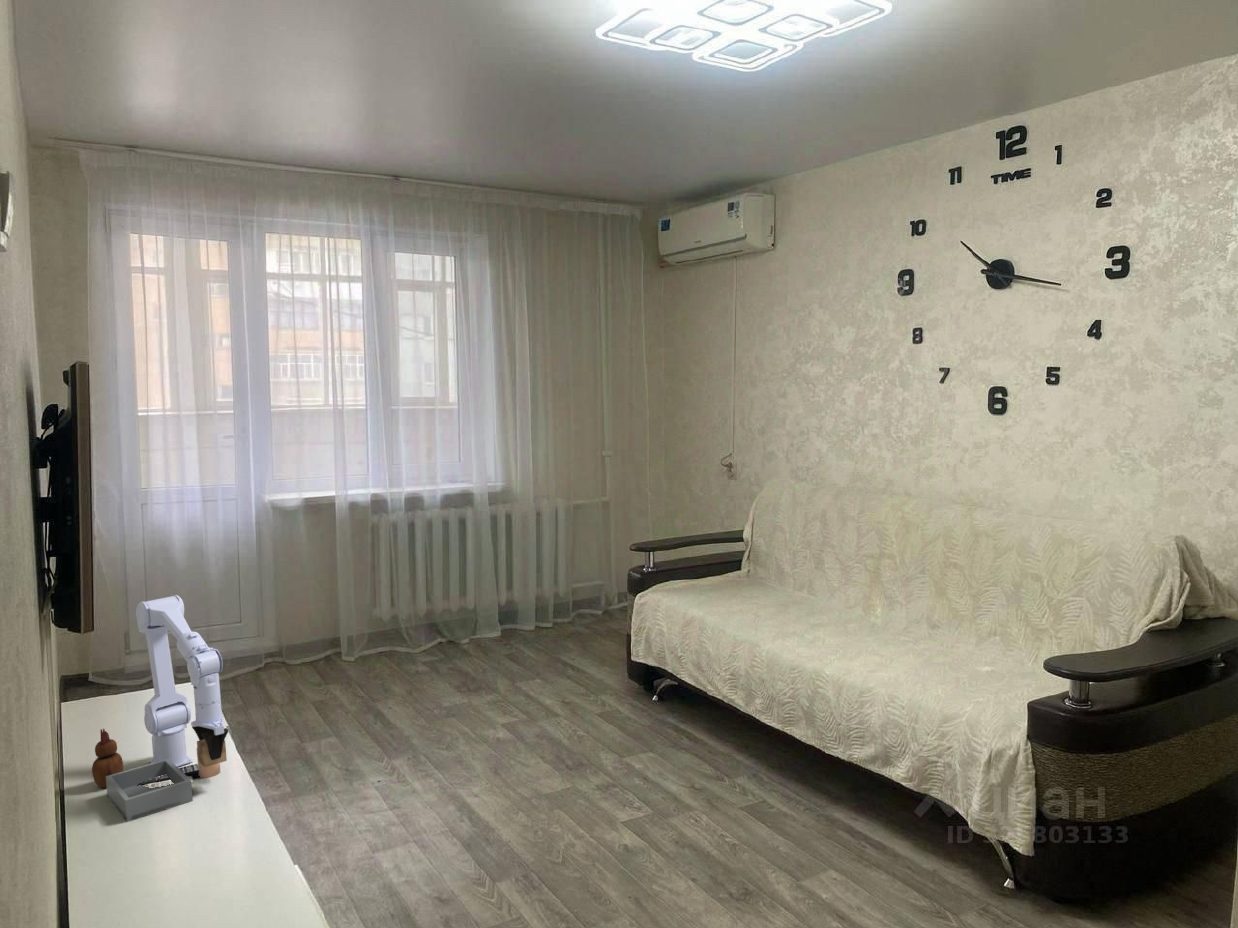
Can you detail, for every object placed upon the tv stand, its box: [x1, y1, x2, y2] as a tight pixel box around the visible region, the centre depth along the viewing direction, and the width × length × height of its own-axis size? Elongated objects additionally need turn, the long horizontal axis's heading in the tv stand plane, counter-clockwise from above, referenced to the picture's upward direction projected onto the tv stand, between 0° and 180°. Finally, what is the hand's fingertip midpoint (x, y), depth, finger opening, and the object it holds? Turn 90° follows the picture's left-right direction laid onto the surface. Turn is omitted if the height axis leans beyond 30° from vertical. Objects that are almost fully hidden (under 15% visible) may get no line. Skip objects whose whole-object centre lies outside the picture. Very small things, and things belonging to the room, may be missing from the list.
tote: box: [106, 759, 194, 823], centre depth 213 cm, size 18×14×5 cm
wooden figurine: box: [91, 728, 124, 789], centre depth 221 cm, size 7×6×15 cm
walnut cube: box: [196, 739, 228, 767], centre depth 216 cm, size 5×5×5 cm
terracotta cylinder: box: [196, 749, 221, 779], centre depth 226 cm, size 5×5×7 cm
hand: (212, 755), depth 216 cm, fingers closed on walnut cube, 5 cm apart
